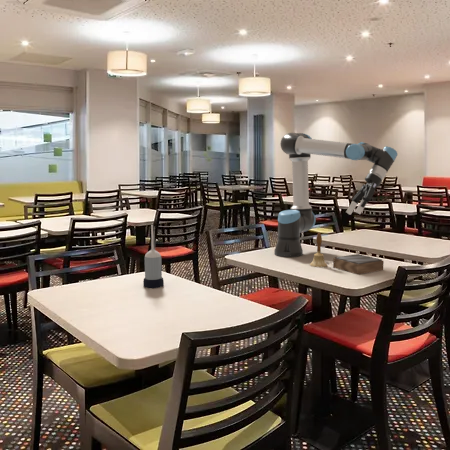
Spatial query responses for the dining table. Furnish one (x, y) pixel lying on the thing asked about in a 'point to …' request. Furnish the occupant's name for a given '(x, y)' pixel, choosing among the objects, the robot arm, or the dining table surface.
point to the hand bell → (318, 254)
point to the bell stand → (358, 263)
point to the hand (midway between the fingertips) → (352, 213)
